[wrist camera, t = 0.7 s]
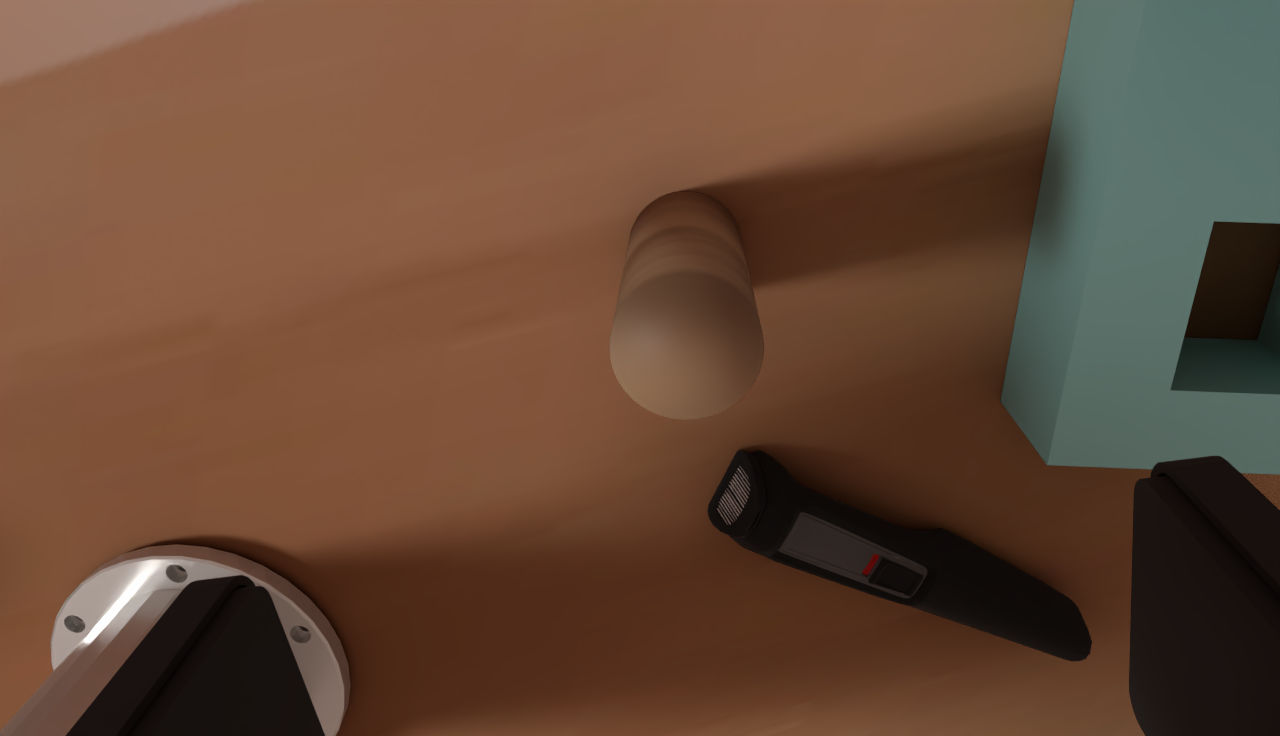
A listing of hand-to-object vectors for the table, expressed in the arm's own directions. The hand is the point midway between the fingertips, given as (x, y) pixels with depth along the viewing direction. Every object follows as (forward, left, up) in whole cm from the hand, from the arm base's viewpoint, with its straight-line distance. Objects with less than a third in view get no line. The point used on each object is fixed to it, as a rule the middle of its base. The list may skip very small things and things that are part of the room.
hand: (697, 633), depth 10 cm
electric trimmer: (-14, -9, -25) cm, 30 cm away
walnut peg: (-3, 0, -25) cm, 25 cm away
